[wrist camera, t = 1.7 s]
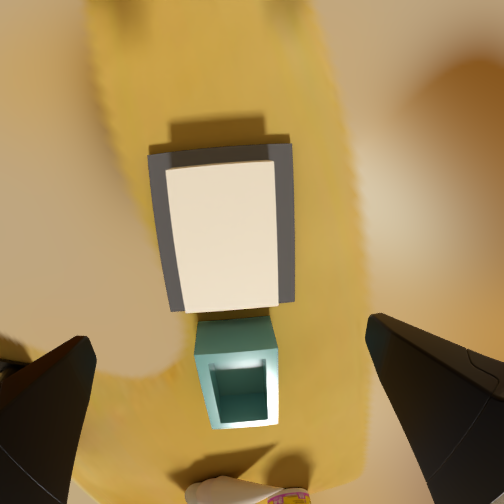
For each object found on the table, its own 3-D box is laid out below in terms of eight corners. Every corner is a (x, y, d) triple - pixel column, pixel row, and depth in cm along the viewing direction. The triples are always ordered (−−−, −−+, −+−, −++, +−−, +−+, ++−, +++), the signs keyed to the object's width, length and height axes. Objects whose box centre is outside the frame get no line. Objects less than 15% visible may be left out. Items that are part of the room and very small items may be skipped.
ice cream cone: (286, 460, 30) (195, 474, 34) (265, 475, 25) (168, 484, 29) (300, 498, 27) (208, 506, 31) (282, 517, 22) (182, 520, 26)
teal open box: (212, 395, 25) (212, 429, 21) (198, 321, 22) (193, 354, 18) (271, 390, 25) (278, 423, 21) (269, 315, 22) (278, 348, 18)
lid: (188, 298, 20) (185, 313, 19) (171, 167, 17) (165, 170, 15) (273, 291, 21) (278, 305, 19) (268, 160, 18) (274, 161, 16)
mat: (171, 308, 21) (170, 311, 21) (149, 155, 17) (147, 155, 17) (293, 298, 22) (294, 301, 21) (290, 143, 18) (292, 143, 17)
